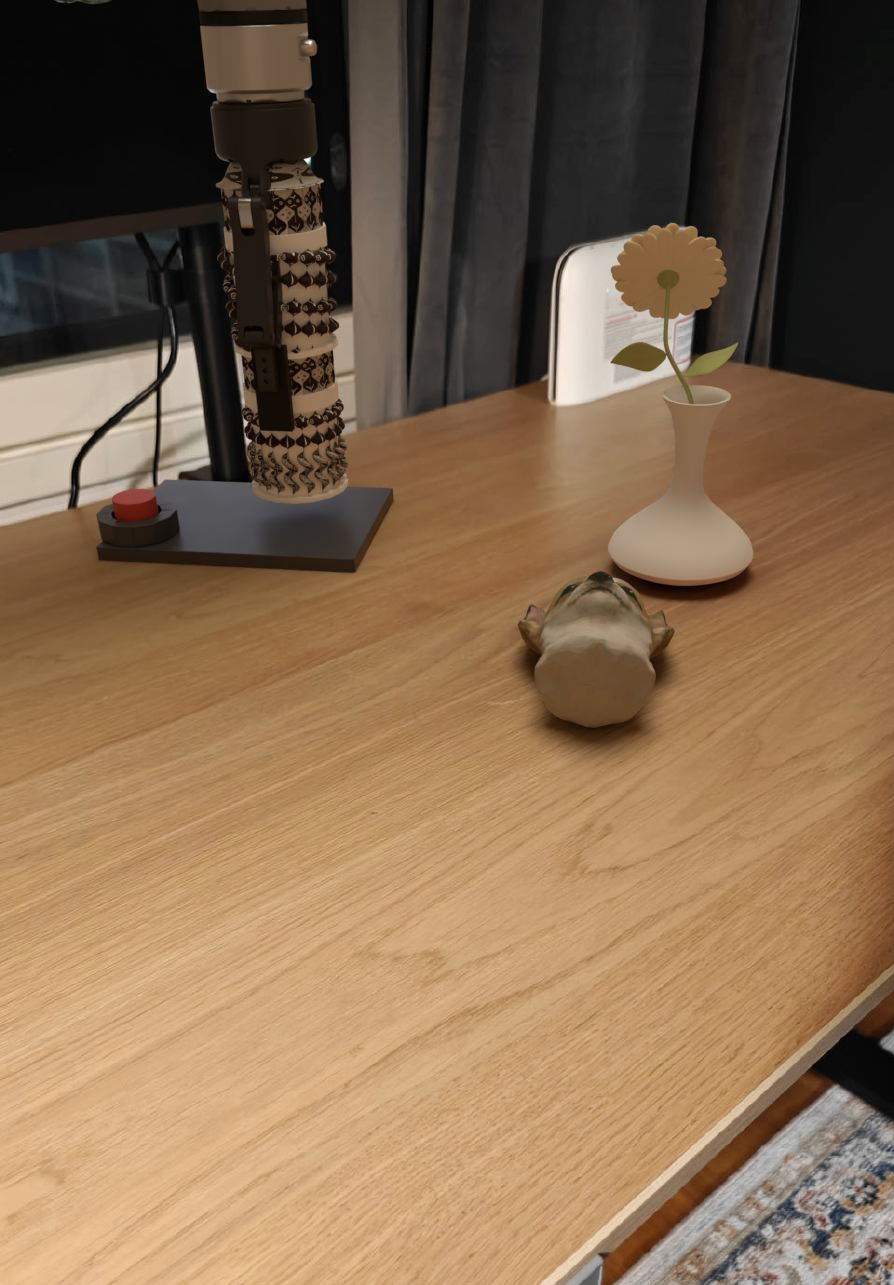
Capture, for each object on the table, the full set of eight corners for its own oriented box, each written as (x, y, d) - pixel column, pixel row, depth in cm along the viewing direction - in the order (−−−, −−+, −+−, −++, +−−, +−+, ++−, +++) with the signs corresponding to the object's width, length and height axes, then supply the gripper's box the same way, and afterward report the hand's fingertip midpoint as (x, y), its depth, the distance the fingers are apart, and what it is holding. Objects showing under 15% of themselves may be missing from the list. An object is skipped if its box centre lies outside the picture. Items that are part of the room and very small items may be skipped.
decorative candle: (261, 512, 94) (219, 171, 79) (236, 476, 101) (194, 156, 86) (366, 495, 96) (344, 162, 82) (335, 461, 103) (310, 148, 89)
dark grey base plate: (90, 560, 95) (82, 526, 93) (159, 491, 108) (153, 460, 106) (355, 573, 92) (352, 538, 90) (393, 500, 104) (392, 468, 103)
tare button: (108, 523, 94) (104, 503, 93) (125, 507, 97) (121, 487, 96) (149, 525, 94) (146, 505, 93) (165, 509, 97) (161, 489, 96)
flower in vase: (769, 557, 92) (822, 218, 78) (721, 612, 85) (770, 246, 70) (622, 528, 98) (645, 206, 84) (564, 577, 90) (578, 231, 76)
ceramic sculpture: (507, 612, 66) (523, 527, 78) (503, 742, 70) (520, 642, 83) (694, 620, 64) (680, 533, 77) (677, 752, 69) (667, 649, 82)
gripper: (270, 109, 73) (303, 456, 86) (345, 85, 90) (363, 378, 103) (159, 110, 74) (208, 453, 87) (254, 86, 91) (283, 376, 104)
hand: (292, 412), depth 95 cm, fingers closed on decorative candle, 8 cm apart
